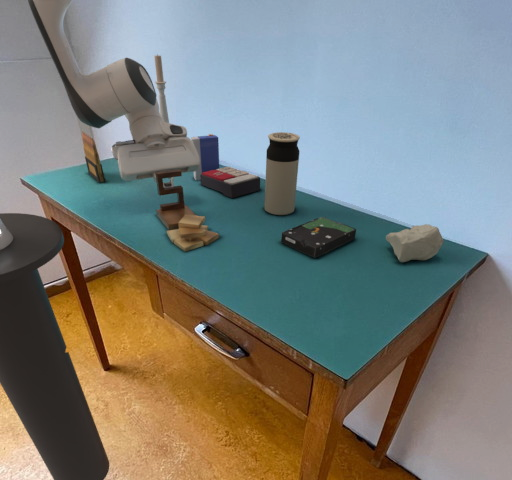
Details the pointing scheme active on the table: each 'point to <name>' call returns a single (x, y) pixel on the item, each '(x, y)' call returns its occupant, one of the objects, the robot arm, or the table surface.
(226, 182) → the calculator
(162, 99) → the candlestick
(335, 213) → the table surface
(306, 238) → the disk drive
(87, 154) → the ammunition clip
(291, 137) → the travel mug
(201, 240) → the tile pile
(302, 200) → the table surface
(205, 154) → the walkman
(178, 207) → the letter S
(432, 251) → the decorative stone
